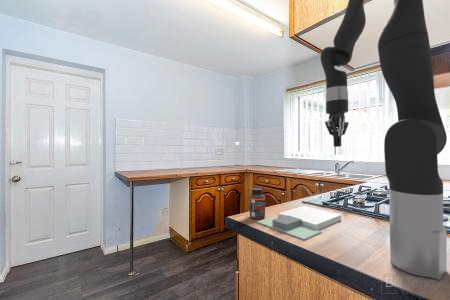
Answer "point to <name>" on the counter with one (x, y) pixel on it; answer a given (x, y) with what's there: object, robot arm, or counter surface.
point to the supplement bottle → (257, 204)
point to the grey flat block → (287, 222)
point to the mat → (297, 232)
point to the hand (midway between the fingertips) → (337, 146)
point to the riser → (312, 217)
